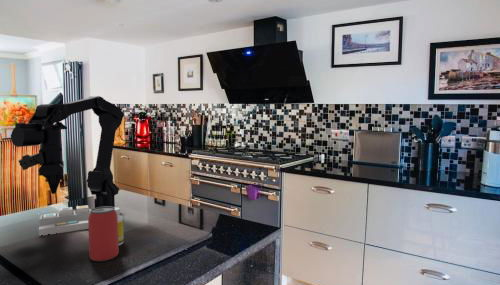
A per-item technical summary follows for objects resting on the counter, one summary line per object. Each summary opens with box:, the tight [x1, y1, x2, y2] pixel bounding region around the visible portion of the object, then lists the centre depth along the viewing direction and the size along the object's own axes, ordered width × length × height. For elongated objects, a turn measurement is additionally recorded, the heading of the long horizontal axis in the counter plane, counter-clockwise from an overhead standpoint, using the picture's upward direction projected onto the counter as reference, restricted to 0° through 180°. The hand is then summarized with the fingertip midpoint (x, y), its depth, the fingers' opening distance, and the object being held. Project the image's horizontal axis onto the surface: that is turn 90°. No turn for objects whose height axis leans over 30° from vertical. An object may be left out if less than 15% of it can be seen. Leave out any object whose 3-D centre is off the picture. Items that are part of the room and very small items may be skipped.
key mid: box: [59, 206, 73, 216], centre depth 106 cm, size 3×3×2 cm
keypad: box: [38, 208, 91, 237], centre depth 106 cm, size 14×14×4 cm
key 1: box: [43, 212, 57, 219], centre depth 104 cm, size 3×3×2 cm
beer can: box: [87, 206, 120, 262], centre depth 81 cm, size 7×7×12 cm
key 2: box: [75, 204, 89, 214], centre depth 109 cm, size 3×3×2 cm
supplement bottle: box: [114, 206, 125, 247], centre depth 90 cm, size 5×5×10 cm
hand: (53, 193), depth 104 cm, fingers closed
